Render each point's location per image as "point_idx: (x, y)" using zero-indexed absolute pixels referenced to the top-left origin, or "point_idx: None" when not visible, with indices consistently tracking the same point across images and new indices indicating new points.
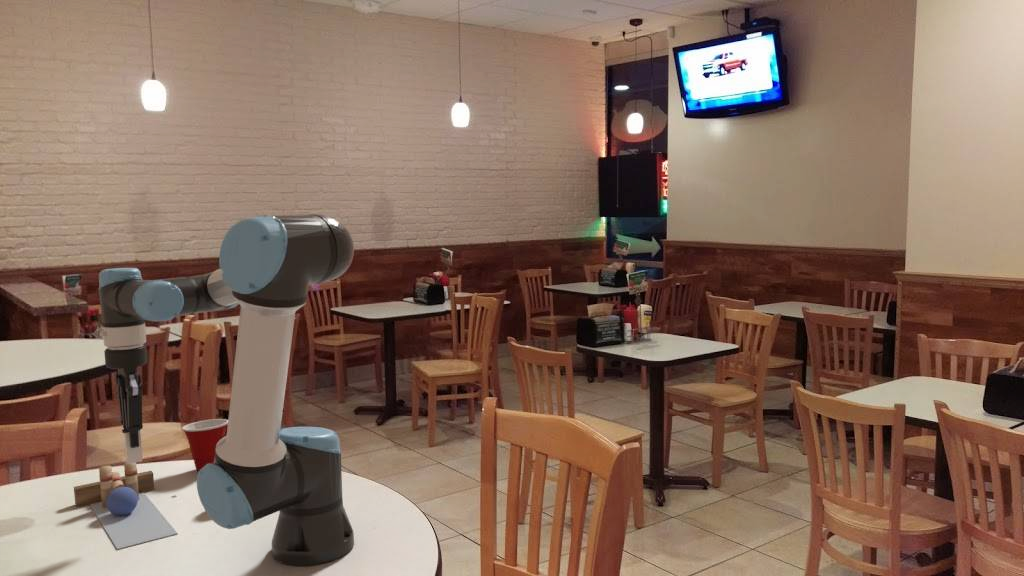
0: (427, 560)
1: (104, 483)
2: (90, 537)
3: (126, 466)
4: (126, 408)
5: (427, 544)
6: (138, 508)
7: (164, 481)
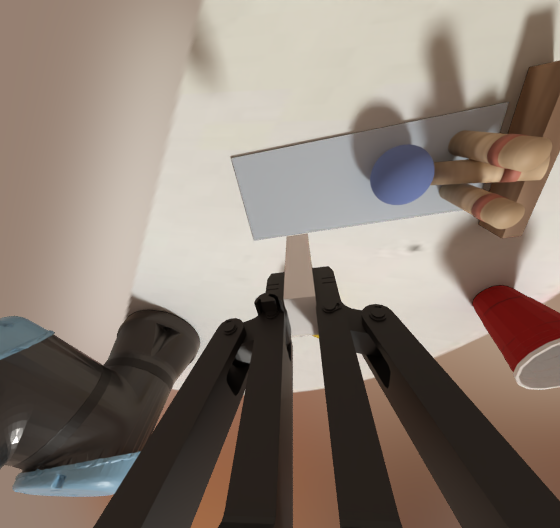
0: None
1: (488, 145)
2: (313, 108)
3: (497, 205)
4: (241, 428)
5: None
6: None
7: (505, 241)
